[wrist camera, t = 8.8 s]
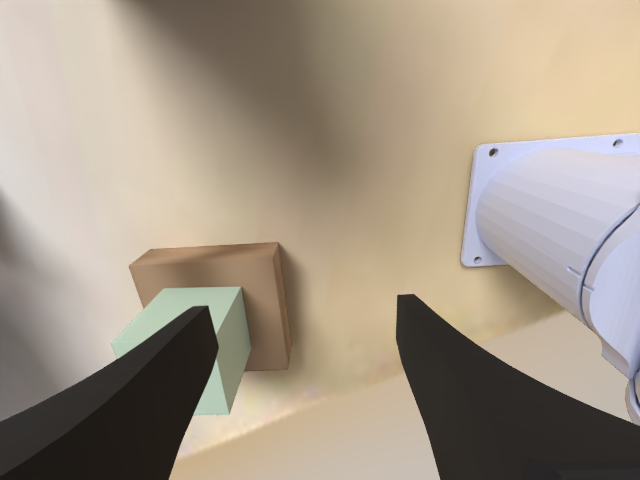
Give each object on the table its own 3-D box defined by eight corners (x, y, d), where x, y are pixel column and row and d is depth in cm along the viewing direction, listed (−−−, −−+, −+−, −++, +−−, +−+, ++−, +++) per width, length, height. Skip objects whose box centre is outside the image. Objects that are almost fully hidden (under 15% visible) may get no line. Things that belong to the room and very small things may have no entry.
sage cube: (241, 286, 19) (212, 341, 14) (251, 348, 21) (229, 414, 16) (163, 288, 19) (110, 342, 14) (180, 349, 21) (138, 415, 16)
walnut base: (279, 239, 21) (272, 258, 18) (292, 340, 24) (288, 369, 21) (154, 246, 21) (128, 265, 18) (184, 345, 25) (166, 374, 22)
